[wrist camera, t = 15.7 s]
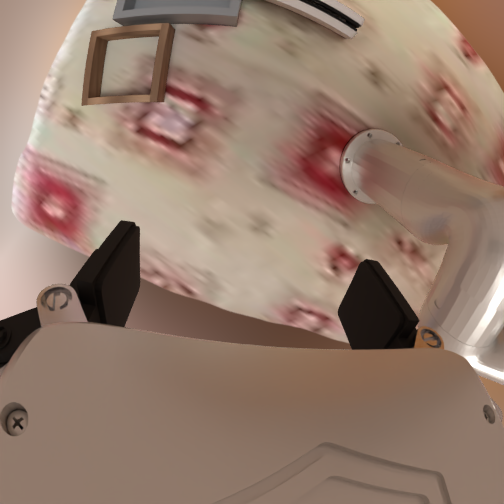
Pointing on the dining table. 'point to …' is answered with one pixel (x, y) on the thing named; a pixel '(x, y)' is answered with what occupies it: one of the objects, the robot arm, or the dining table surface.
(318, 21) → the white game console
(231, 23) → the tray
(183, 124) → the dining table surface
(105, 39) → the square wooden frame
